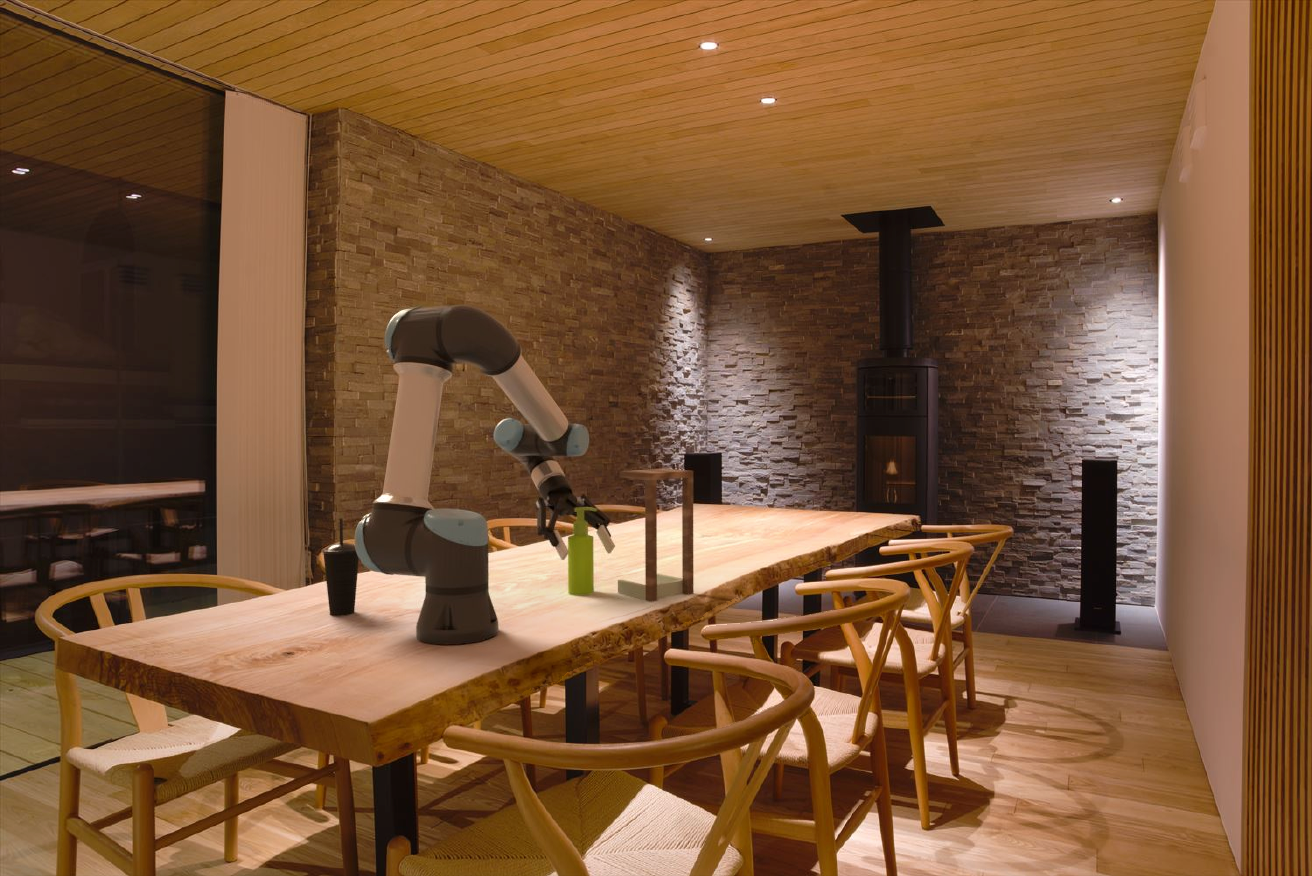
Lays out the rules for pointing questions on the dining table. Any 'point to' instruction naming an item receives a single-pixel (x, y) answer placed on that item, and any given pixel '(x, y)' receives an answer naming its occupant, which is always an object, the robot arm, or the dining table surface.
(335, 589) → the drinking cup
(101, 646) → the dining table surface
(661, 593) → the holder
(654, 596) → the wooden post arch
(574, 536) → the soap dispenser
